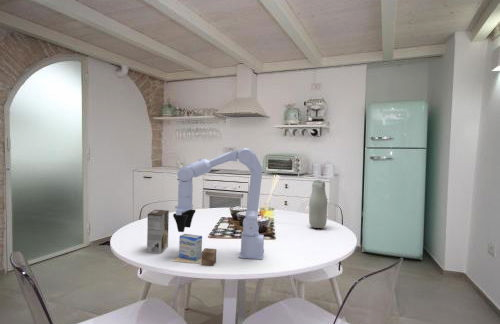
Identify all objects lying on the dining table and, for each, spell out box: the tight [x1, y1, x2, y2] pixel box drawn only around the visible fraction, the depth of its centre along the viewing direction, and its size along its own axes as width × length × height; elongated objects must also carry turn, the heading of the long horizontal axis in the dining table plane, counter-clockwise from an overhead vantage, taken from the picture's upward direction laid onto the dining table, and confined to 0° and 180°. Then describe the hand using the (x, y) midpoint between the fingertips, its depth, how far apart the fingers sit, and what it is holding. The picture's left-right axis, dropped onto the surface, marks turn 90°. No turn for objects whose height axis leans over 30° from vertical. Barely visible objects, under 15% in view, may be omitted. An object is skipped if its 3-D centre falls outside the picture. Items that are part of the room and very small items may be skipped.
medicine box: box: [178, 233, 203, 260], centre depth 119 cm, size 8×4×9 cm, turn 70°
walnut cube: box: [200, 248, 217, 267], centre depth 114 cm, size 4×4×5 cm
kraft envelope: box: [172, 255, 202, 264], centre depth 119 cm, size 10×10×1 cm
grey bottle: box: [308, 179, 328, 229], centre depth 175 cm, size 10×10×28 cm
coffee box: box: [146, 209, 170, 254], centre depth 128 cm, size 9×6×16 cm
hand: (184, 229), depth 123 cm, fingers open, 7 cm apart
